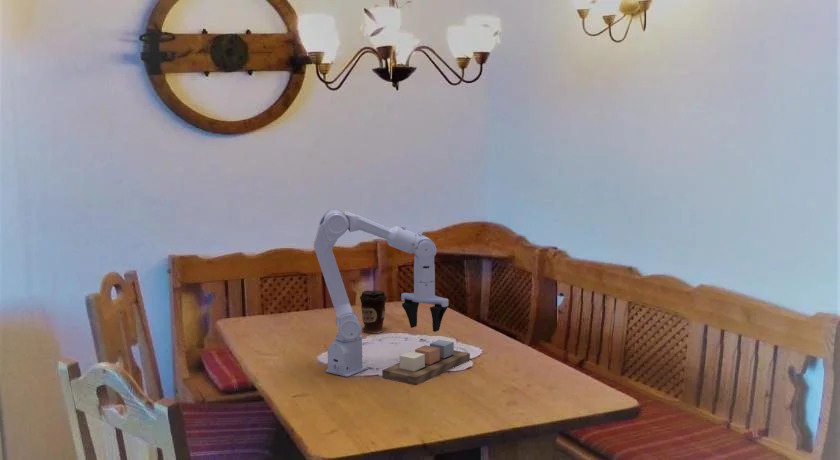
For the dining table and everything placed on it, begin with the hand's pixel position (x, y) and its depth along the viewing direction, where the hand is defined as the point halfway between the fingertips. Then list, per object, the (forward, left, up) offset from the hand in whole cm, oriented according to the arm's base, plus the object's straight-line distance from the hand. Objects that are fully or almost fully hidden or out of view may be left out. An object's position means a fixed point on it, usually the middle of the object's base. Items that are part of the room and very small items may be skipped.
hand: (424, 328), depth 221 cm
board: (-2, -2, -10) cm, 11 cm away
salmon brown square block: (-2, -2, -8) cm, 9 cm away
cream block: (-9, -2, -8) cm, 12 cm away
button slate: (+5, -2, -8) cm, 10 cm away
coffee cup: (+20, +35, -11) cm, 42 cm away
